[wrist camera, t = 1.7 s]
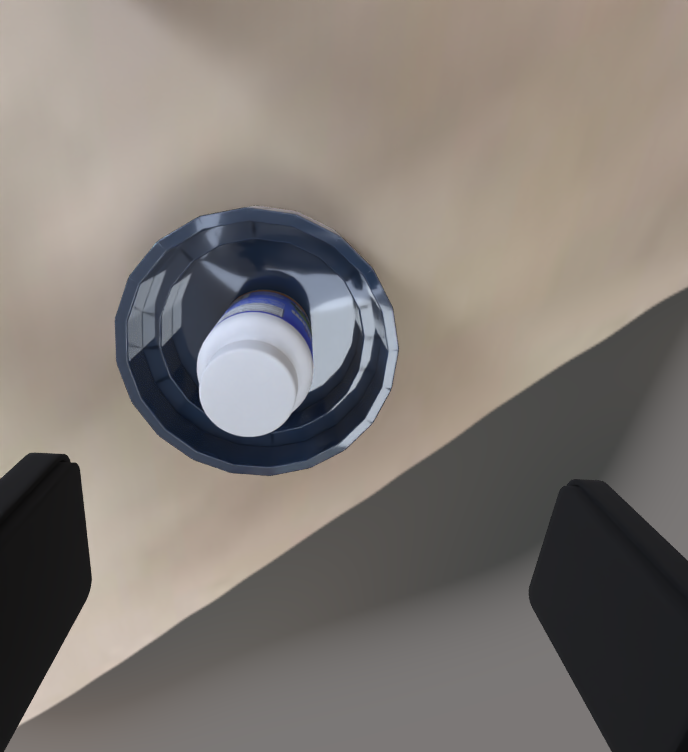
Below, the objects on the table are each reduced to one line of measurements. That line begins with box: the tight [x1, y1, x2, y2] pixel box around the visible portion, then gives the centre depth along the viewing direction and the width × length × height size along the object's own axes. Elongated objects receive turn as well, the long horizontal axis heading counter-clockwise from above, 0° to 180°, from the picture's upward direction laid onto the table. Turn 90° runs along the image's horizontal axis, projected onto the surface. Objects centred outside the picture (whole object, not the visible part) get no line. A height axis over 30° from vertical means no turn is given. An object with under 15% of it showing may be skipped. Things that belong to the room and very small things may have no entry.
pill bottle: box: [197, 290, 313, 437], centre depth 24 cm, size 5×5×10 cm
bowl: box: [115, 205, 399, 476], centre depth 26 cm, size 14×14×5 cm
